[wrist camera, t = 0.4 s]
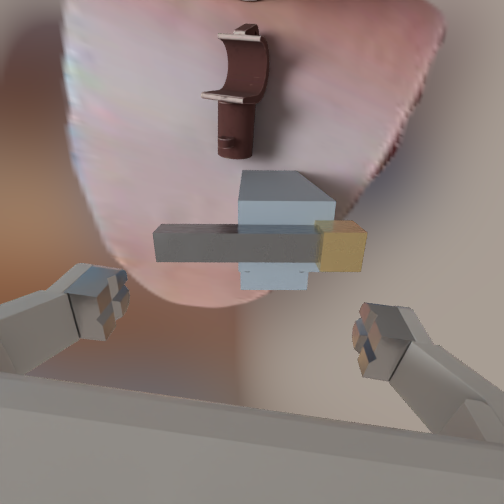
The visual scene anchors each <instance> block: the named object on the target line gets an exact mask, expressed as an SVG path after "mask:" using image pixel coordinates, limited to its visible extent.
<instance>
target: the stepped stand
mask: <svg viewBox="0 0 504 504" xmlns="http://www.w3.org/2000/svg"><path fill="white" fill-rule="evenodd" d="M335 207H336V201H335V200H334V199H332V198H331V197H330V196H328V195H327V194H326V193H324V192H323V191H322V190H321V189H319V188H318V187H317V186H315V185H314V184H313V183H311V182H310V181H309V180H308V179H306V178H305V177H304V176H302V175H301V174H300V173H298V172H297V171H259V170H242V177H241V184H240V191H239V198H238V224H251V225H314V223H315V220H334V215H335ZM239 272H241V290H307V281H308V272H320V271H319V269H318V267H317V265H316V263H265V262H239Z"/></svg>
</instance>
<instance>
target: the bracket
mask: <svg viewBox="0 0 504 504" xmlns="http://www.w3.org/2000/svg"><path fill="white" fill-rule="evenodd" d="M218 39H221V40H222V41H223V43H224V45H225V47H226V50H227V55H228V74H227V79H226V82H225V84H224V86H223V88H222V89H220V90H216V91H208V92H202V93H201V97H202V98H204V99H211V100H218V155H219V156H221V157H224V158H229V159H247V158H250V157H251V156H252V148H253V133H254V119H255V105H256V103H259V102H260V101H261V99H262V98H263V96H264V93H265V90H266V86H267V82H268V76H269V49H268V44H267V41H266V39H265V38H264V37H263V36H259V29H258V26H257V24H244V25H242V26H240V27H239V28H237V29H235V30H234V33H233V34H222V33H218Z"/></svg>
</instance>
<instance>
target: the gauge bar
mask: <svg viewBox="0 0 504 504" xmlns="http://www.w3.org/2000/svg"><path fill="white" fill-rule="evenodd" d="M153 239H154V247H155V255H156V262H265V263H316V265H317V267H318V269H319V271H320V272H361V268H362V262H363V256H364V250H365V244H366V239H367V232H366V231H365V230H364V229H362V228H361V227H360V226H359V225H358V224H356V223H355V222H354V221H338V220H315V223H314V225H251V224H161V225H160V226H159V227H158V228H157V229H156V230H155V231H154V232H153Z"/></svg>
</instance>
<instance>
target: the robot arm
mask: <svg viewBox="0 0 504 504" xmlns="http://www.w3.org/2000/svg"><path fill="white" fill-rule="evenodd" d="M244 1H255V0H244ZM127 280H128V279H127V273H126V271H125V270H123V269H118V268H111V267H105V266H99V265H92V264H85V263H79V264H76V265H75V266H74V267H73V268H71V269H70V270H69V271H68V272H67V273H66V274H64V275H63V276H62V277H61V278H60V279H59V280H58V281H56V282H55V283H54V284H53V285H52V286H51V287H49V288H48V289H47V290H46V291H44V290H40V291H37V292H34V293H31V294H29V295H26V296H23V297H20V298H17V299H14V300H12V301H9V302H6V303H3V304H0V504H504V392H503V391H502V390H500V389H499V388H498V387H496V386H495V385H493V384H492V383H491V382H489V381H488V380H487V379H485V378H484V377H482V376H481V375H480V374H478V373H477V372H476V371H474V370H473V369H471V368H470V367H468V366H467V365H466V364H464V363H463V362H462V361H460V360H459V359H457V358H456V357H454V355H452V354H451V353H449V352H448V351H447V350H445V349H444V348H442V347H441V346H440V345H435V344H434V343H433V342H432V340H431V338H430V337H429V335H428V334H427V332H426V330H425V328H424V327H423V325H422V324H421V322H420V320H419V319H418V317H417V315H416V314H415V312H414V311H413V309H411V308H409V307H399V306H387V305H380V304H372V303H365V302H364V304H362V306H361V308H360V311H359V312H360V315H361V318H359V319H358V320H357V321H355V324H354V326H353V332H352V342H353V346H354V349H355V350H356V351H357V352H358V353H359V354H360V355H359V357H358V363H359V367H360V370H361V373H362V377H365V378H371V379H377V380H383V381H389V383H390V385H391V386H392V387H393V388H394V389H395V390H396V392H397V393H398V394H399V395H400V396H401V397H402V398H403V400H404V401H405V402H406V403H407V404H408V406H409V407H411V409H412V410H413V411H414V413H415V414H416V415H417V416H418V417H419V418H420V419H421V421H422V422H423V423H424V424H425V425H426V426H427V428H428V429H429V430H430V431H431V432H432V433H433V434H432V433H425V432H418V431H411V430H404V429H397V428H390V427H383V426H376V425H369V424H362V423H355V422H348V421H341V420H334V419H327V418H320V417H313V416H306V415H300V414H292V413H285V412H278V411H271V410H265V409H258V408H251V407H244V406H236V405H230V404H223V403H216V402H208V401H202V400H194V399H188V398H181V397H174V396H167V395H160V394H152V393H145V392H139V391H132V390H124V389H118V388H111V387H104V386H97V385H90V384H83V383H76V382H69V381H62V380H55V379H48V378H41V377H34V376H26V375H25V374H26V373H28V372H29V371H31V370H33V369H34V368H36V367H37V366H39V365H40V364H42V363H43V362H45V361H47V360H48V359H50V358H51V357H53V356H55V355H56V354H58V353H59V352H61V351H62V350H64V349H65V348H67V347H69V346H70V345H72V344H73V343H75V342H76V341H78V340H79V338H83V339H92V340H101V341H106V340H107V339H108V337H109V336H110V334H111V333H112V331H113V330H114V328H115V327H116V322H115V320H117V319H119V318H121V317H123V315H124V314H125V312H126V310H127V308H128V305H129V299H130V294H129V290H128V289H127V287H126V286H125V285H124V284H125V282H126V281H127Z"/></svg>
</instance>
